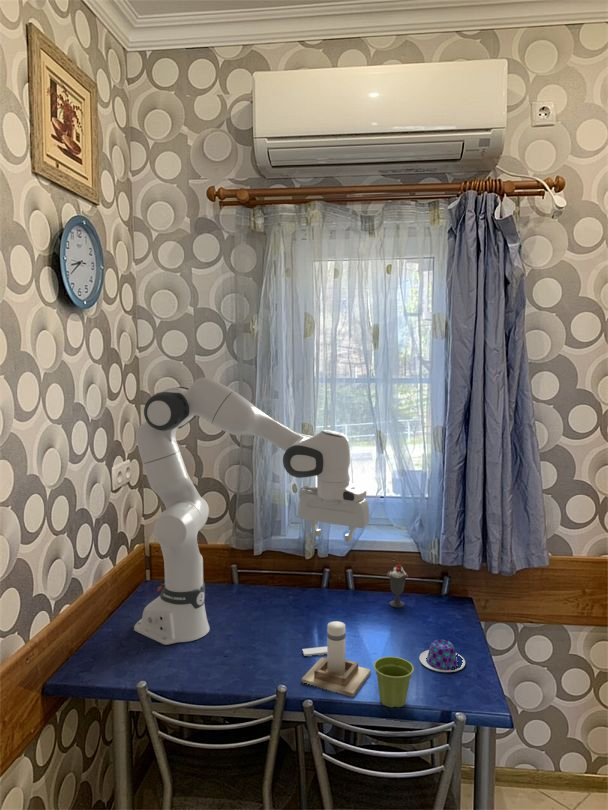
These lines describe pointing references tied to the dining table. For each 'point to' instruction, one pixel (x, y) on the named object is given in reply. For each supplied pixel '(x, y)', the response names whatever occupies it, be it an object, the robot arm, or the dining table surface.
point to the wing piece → (315, 651)
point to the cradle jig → (337, 677)
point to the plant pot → (393, 680)
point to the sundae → (397, 584)
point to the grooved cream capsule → (336, 648)
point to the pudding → (441, 656)
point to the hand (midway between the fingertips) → (332, 538)
